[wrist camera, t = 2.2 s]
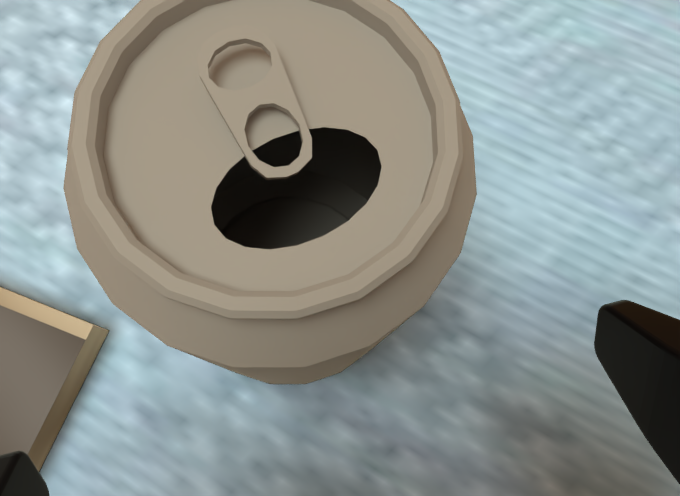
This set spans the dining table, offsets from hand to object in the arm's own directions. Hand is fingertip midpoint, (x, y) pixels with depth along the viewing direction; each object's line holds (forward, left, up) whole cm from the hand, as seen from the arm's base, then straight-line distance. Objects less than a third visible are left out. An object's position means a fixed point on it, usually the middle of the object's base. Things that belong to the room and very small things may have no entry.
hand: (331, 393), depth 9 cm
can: (+3, +2, -11) cm, 12 cm away
